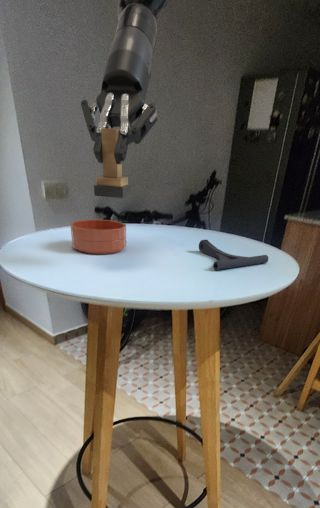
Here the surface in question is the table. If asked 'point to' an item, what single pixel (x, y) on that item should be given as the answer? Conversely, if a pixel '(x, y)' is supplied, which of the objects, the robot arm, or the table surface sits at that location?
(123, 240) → the bowl
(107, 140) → the wooden block on stand
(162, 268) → the table surface
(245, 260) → the dark branching pipe
